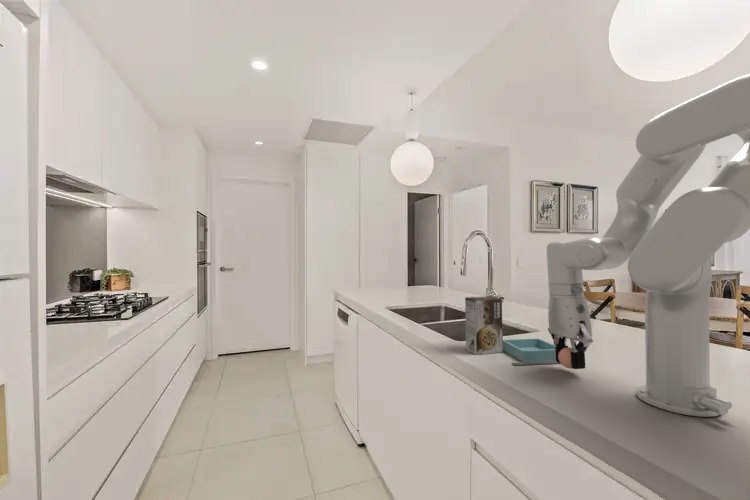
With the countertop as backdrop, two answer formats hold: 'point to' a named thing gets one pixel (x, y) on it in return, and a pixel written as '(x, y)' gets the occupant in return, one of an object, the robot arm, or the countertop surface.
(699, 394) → the robot arm
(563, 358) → the ball
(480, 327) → the coffee box
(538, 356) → the tray
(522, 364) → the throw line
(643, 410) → the countertop surface
